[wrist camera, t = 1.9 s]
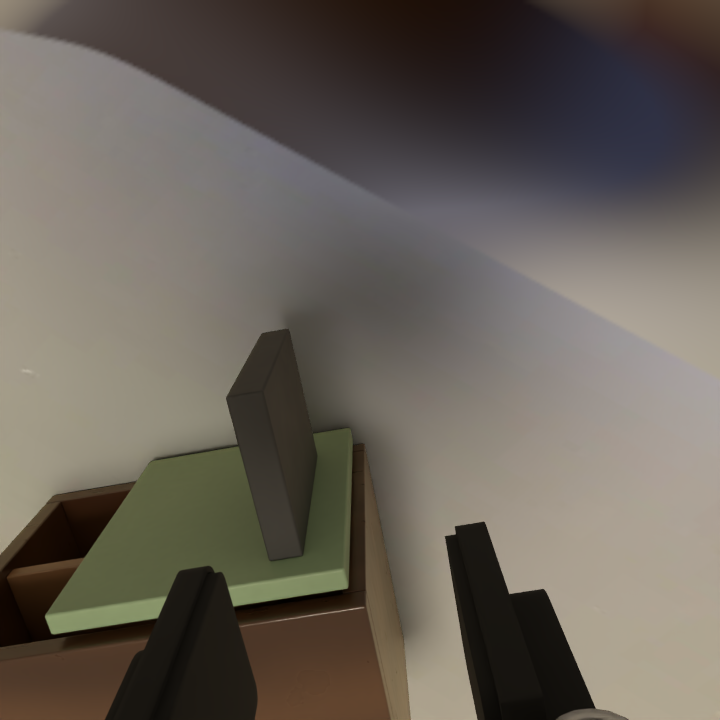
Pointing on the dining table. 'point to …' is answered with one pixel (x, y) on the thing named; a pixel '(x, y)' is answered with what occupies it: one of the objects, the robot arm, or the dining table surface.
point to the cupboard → (256, 621)
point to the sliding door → (228, 510)
